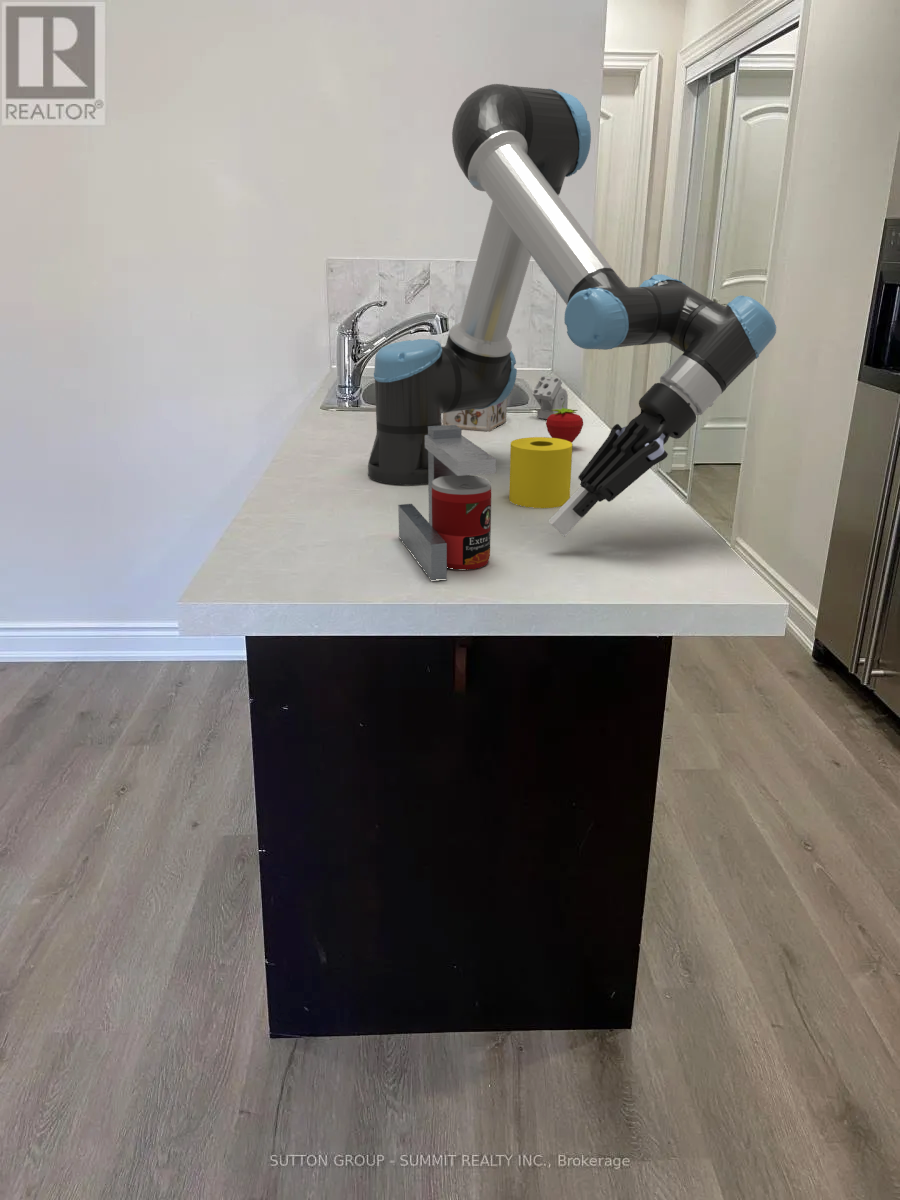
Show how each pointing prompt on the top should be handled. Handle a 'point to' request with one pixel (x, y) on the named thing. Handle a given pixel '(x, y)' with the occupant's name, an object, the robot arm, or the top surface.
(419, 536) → the bracket
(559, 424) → the strawberry
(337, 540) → the top surface
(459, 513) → the canned food
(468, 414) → the white patterned box
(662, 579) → the top surface
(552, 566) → the top surface
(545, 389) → the mechanical component
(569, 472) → the yellow toilet paper roll
